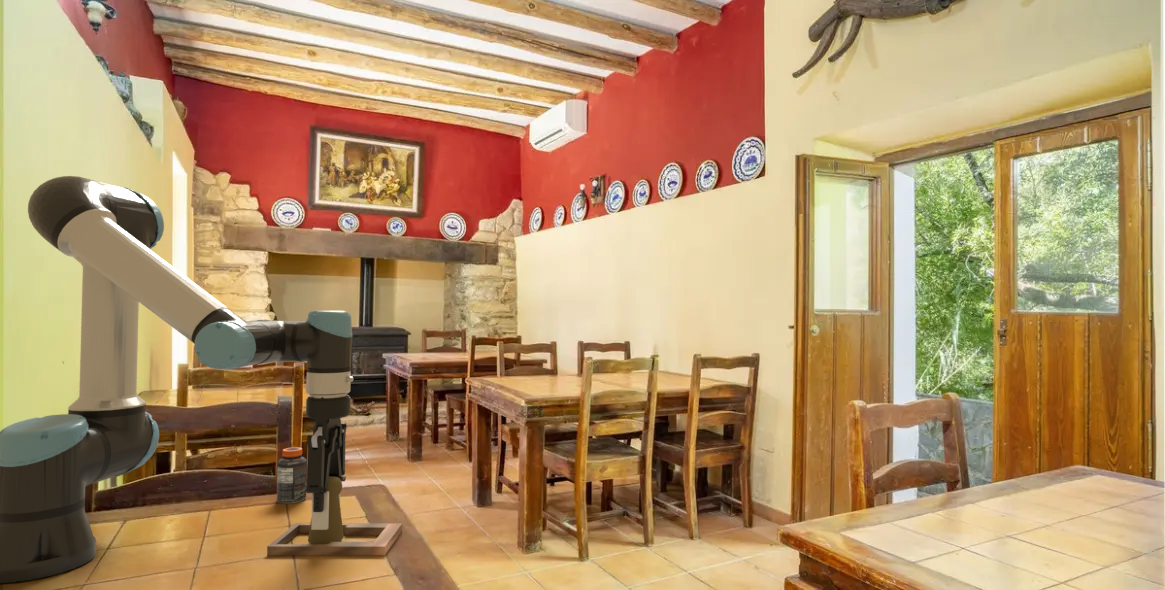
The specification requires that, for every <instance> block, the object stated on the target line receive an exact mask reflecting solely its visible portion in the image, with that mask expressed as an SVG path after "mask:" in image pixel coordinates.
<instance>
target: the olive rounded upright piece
mask: <svg viewBox="0 0 1165 590" xmlns="http://www.w3.org/2000/svg"><path fill="white" fill-rule="evenodd" d="M342 489H343V481H341V480H340V478H338V477H334V476H328V485H327V491H329V525H328V529H327V530H311V524H312V517H311V518H310V523H311V524H310V530H309V533H308V538H307V542H308V543H309V544H329V543H330V542H341V541H342V540H343V539H344V536H345V534H344V533H343V527H342V523H343V520H342V518H343V517H342V512H341V511H342V510H341V500H340V501H339V494H340V495H341V493H342Z"/></svg>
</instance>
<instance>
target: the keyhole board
mask: <svg viewBox="0 0 1165 590" xmlns="http://www.w3.org/2000/svg"><path fill="white" fill-rule="evenodd" d="M310 524H311V522H306V523H305V522H296V523H294V524H292V526H291V527H289V528H288V529H287V530H285V531H284V532H283V533H282V534H281V535H280V536H278V537H277V538H276V539H275V540H273V541H272V542H271V543H269V545H267V546H266V548H267V550H266V556H386V554H387V553H388V551H389V550H390V549H391V547H392V546H393V544H394V543H395V542H396V540H397V539H398V538H399V536H400V535H401V534H402V532H403V523H401V522H400V523H399V522H398V523H394V522H393V523H390V522H389V523H387V522H386V523H385V522H383V523H381V522H379V523H375V522H374V523H372V522H369V523H360V522H359V523H357V522H354V523H352V522H351V523H345V522H344V523H343V522H342V527H343V534H344V536H377V537H376V538H375V540H374V541H338V542H330V543H329V544H311V543H309V544H306V543H303V544H302V543H299V544H298V543H297V544H293V543H290V544H288V543H289V542H290V541H292V540H293V539H294V538H295V537H297V536H298V535H299V534H309V530H310Z"/></svg>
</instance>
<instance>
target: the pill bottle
mask: <svg viewBox="0 0 1165 590" xmlns="http://www.w3.org/2000/svg"><path fill="white" fill-rule="evenodd" d="M281 454H282V455H281V456H282V457H281V458H280V459H279V460H278V461H277V464H276V465H277V467H276V469H277V471H276V474H277V475H276V502H278V503H280V504H296V503H299V502H303V501H304V500H305V499H306V498H307V492H306V490H307V467H308V459H307V458H305V457H304V456H303V448H302V447H295V446H294V447H287V448H283V449H282V453H281Z"/></svg>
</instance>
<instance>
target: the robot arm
mask: <svg viewBox="0 0 1165 590" xmlns="http://www.w3.org/2000/svg"><path fill="white" fill-rule="evenodd" d="M27 214H28V219H29V221H30V223H31V225H32V226H33V228H34V230H35V231H36V232H37V233H38V235H40V236H41V237H42V238H43V239H45V241H46V242H47V243H49V244H50V245H51V246H53V248H55V249H57V250H58V251H59V252H61V253H62V254H64V255H65V256H67V257H72V258H74V260H76V261H77V262H78V263H80V265H81V266H82V279H81V280H82V281H81V283H82V284H81V287H82V288H81V319H80V320H81V321H80V324H81V326H80V353H79V354H80V357H79V358H80V359H79V360H80V361H79V396H78V398H77V399H76V400H75V401H73V402H72V404H70V405H69V406H68V409H67V411H68V412H67V413H62V414H52V415H45V416H43V417H34V418H28V419H25V420H21V421H18V422H15V423H13V424H10V425H7V426H5V427H3V428H2V429H1V430H0V584H9V583H17V582H16V581H20V582H25V581H26V580H27V581H32V580H38V579H42V578H46V577H51V576H56V575H59V574H61V573H65V572H68V571H71V570H75V569H76V568H78V567H81V566H83V565H85V564H87V563H88V562H90V561H92V560H93V559H94V558H95V557H96V555H97V539H96V537H95V536H94V534H93V533H94V532H93V529H92V527H91V523H90V521H89V519H88V516H87V513H86V509H85V501H86V487H88V486H91V485H93V484H96V483H99V482H102V481H105V480H107V479H112V478H115V477H120V476H123V475H126V474H128V473H130V472H132V471H133V470H136V469H138V468H140V467H142V466H143V465H145V464H146V463H147V462H148V461H149V460H150V459H151V458H152V457H153V455H154V453H155V451H156V450H157V448H158V443H159V439H160V430H159V429H160V428H159V425H158V423H157V421H156V420H154V419H153V416H152V414H151V413H149V412H147V411H146V409H147V401H145V400H144V399H143V398H142V397H140V396H139V395H138V393H137V384H138V383H137V382H138V381H137V379H138V347H139V346H138V344H139V342H138V340H139V339H138V338H139V308H140V307H139V306H140V304H141V305H142V306H144V307H145V308H146V309H148V310H149V311H150V312H152V313H153V314H154V315H156V316H157V317H158V318H159V319H161V320H162V321H164V322H165V323H166V324H168V325H169V326H170V327H171V328H172V329H174V330H176V331H177V332H178V333H180V334H181V335H182V336H183V337H185V338H186V339H187V340H189V341H190V342H192V343H193V344H194V351H195V353H196V354H195V355H197V358H198V360H199V361H200V363H201V364H203V365H204V366H206V367H208V368H211V369H215V370H235V369H236V370H237V369H240V368H242V367H243V368H244V367H248V366H256V365H263V364H270V363H278V362H279V363H281V362H285V363H287V362H290V363H291V362H293V363H294V362H296V363H297V362H298V363H300V362H301V363H305V362H306V387H305V392H306V394H307V395H309V396H307V397H306V399H305V402H306V403H305V417H307V418H309V419H313V420H314V421H315V424H314V428H313V429H312V430H313V431H312V434H311V435H309V434H308V435H307V437H306V443H307V476H306V494H311V518H312V524H311V530H327V529H328V525H329V491H327V485H328V476H334V477H338V478H340V480H341V481H342V482H345V481H346V479H347V477H346V476H345V474H346V436H347V434H346V433H347V427H348V424H347V423H346V422H342V420H341V419H343V418H347V417H348V416H350V414H351V396H350V395H349V393H350V392H351V383H352V382H354V377H353V376H352V375H351V374H352V373H351V372H352V346H353V345H352V344H353V342H352V340H353V330H352V329H353V328H352V327H353V325H352V315H351V313H350V312H348V311H346V310H311V311H309V312H308V314H307V319H306V320H300V321H299V320H274V319H273V320H270V319H257V320H245V319H243V318H242V317H240V316H239V315H238V314H236V313H235V312H234V311H232V310H231V309H230V308H228V306H226V305H225V304H223V303H222V302H221V301H219V300H218V299H216V298H215V297H214V296H213V295H212V294H210V293H209V292H207V291H206V290H205V289H203V288H202V287H201V286H200V285H199V284H197V283H195V282H194V281H193V280H191V279H190V278H189V277H188V276H186V275H185V274H184V273H182V272H181V271H180V270H178V269H177V268H175V267H174V266H173V265H171V264H170V263H169V262H167V260H165V259H164V258H162V256H159V255H158V254H157V253H155V252H154V251H153V250H151V249H153V248H155V247H156V246H157V243H158V242H159V241H161V239H162V237H163V235H164V230H165V221H164V217H163V214H162V211H161V209H160V208H159V206H158V205H157V204H156V203H155V202H154V201H153V200H152V199H151V198H150V197H148V196H147V195H145V194H143V193H141V192H137V191H136V190H133V189H131V188H129V187H124V186H123V187H121V186H118V185H113V184H110V183H109V184H108V183H106V182H101V181H96V180H93V179H90V178H85V177H81V176H74V175H65V176H63V175H62V176H58V177H55V178H54V177H53V178H51V179H48V180H46V181H45V182H43V183H41V184H39V186H38V187H37V188H36V189H35V190H34V191H33V192H32V194H31V195H30V197H29V200H28V204H27ZM339 501H340V502H341V493H340V494H339Z"/></svg>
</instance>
